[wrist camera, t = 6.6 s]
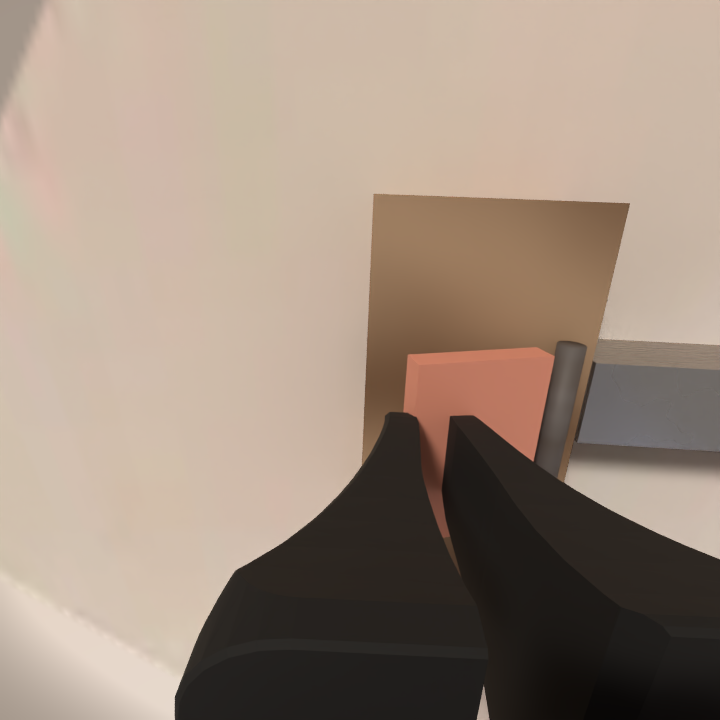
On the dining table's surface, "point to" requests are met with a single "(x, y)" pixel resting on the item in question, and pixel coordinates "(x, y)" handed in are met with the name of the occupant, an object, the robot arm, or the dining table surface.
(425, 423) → the flap
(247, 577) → the robot arm
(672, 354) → the pin
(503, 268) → the block
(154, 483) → the dining table surface
